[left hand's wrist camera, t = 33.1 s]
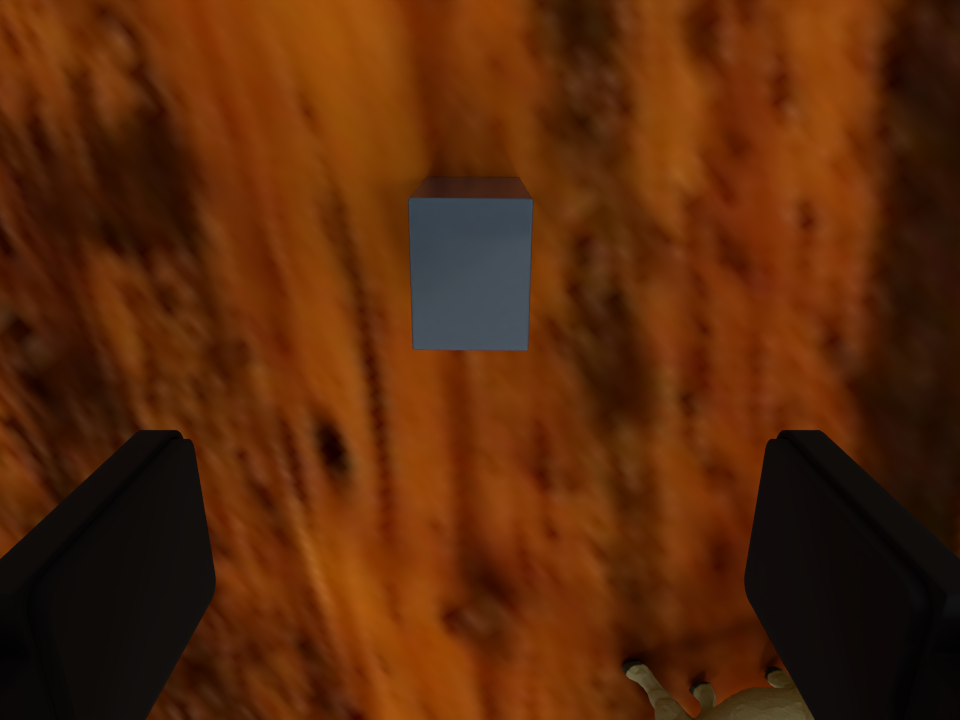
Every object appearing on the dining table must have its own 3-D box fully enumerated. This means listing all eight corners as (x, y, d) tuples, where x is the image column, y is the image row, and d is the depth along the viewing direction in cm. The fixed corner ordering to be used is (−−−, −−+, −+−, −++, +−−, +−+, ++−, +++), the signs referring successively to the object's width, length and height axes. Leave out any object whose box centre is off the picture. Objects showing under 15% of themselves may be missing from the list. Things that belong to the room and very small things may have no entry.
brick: (428, 294, 37) (412, 350, 29) (426, 176, 35) (407, 197, 26) (517, 295, 37) (528, 351, 29) (520, 177, 35) (533, 198, 26)
